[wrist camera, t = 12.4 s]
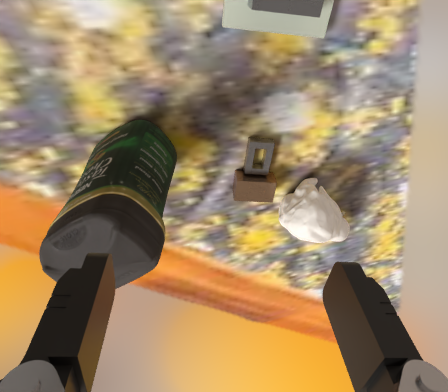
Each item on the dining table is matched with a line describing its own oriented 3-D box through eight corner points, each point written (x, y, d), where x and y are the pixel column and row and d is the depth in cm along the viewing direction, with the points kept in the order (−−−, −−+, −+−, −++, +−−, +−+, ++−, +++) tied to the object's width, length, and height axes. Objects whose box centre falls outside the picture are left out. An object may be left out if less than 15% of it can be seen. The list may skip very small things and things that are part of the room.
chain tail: (232, 189, 44) (234, 200, 42) (240, 136, 40) (242, 146, 38) (269, 191, 45) (272, 202, 43) (280, 139, 40) (285, 149, 38)
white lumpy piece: (325, 206, 36) (379, 249, 42) (301, 162, 42) (351, 204, 48) (281, 240, 38) (339, 275, 44) (265, 193, 45) (317, 230, 51)
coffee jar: (145, 105, 37) (107, 207, 22) (187, 157, 41) (179, 273, 26) (81, 148, 39) (9, 267, 24) (127, 193, 44) (89, 317, 29)
